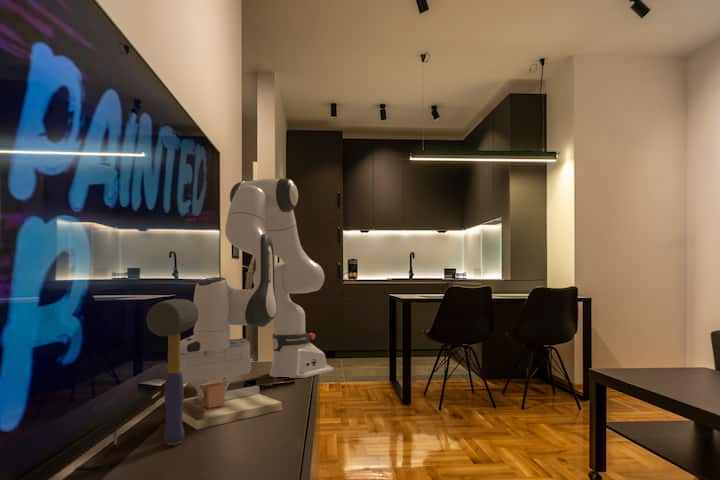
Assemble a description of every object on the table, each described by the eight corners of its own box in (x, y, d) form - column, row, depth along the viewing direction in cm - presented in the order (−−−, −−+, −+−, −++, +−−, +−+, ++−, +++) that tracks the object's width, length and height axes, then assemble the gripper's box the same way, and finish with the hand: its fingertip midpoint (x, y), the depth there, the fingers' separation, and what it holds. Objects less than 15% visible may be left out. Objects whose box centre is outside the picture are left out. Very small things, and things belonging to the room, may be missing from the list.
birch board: (256, 400, 134) (256, 385, 135) (282, 410, 123) (281, 394, 124) (176, 416, 120) (176, 400, 121) (197, 429, 110) (196, 411, 110)
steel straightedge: (256, 392, 134) (256, 385, 135) (259, 393, 133) (259, 386, 133) (176, 408, 121) (176, 400, 121) (178, 409, 119) (178, 401, 120)
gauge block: (216, 401, 125) (216, 381, 125) (224, 405, 121) (224, 384, 121) (200, 404, 122) (200, 384, 123) (208, 408, 118) (208, 387, 119)
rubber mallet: (180, 454, 94) (180, 300, 97) (142, 455, 94) (143, 301, 97) (202, 433, 107) (201, 297, 109) (168, 434, 107) (168, 298, 109)
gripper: (244, 336, 132) (244, 388, 131) (167, 344, 119) (167, 402, 118) (255, 338, 127) (255, 391, 126) (175, 347, 114) (176, 407, 113)
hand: (212, 397), depth 122 cm, fingers closed on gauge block, 4 cm apart
